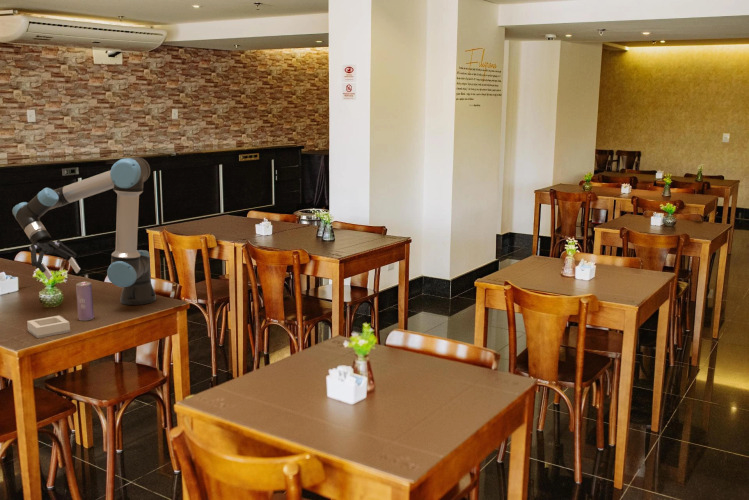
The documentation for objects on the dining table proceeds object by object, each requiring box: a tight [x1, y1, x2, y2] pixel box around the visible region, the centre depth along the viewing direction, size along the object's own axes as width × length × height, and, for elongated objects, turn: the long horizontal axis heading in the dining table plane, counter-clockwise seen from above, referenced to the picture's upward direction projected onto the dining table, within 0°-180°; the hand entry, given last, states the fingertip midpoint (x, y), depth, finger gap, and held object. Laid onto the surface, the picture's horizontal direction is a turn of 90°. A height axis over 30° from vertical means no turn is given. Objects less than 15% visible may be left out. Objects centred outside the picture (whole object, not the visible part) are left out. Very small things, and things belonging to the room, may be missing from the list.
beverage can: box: [75, 281, 95, 322], centre depth 299 cm, size 6×6×15 cm
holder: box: [26, 315, 71, 339], centre depth 283 cm, size 12×12×4 cm
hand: (64, 274), depth 302 cm, fingers open, 13 cm apart
